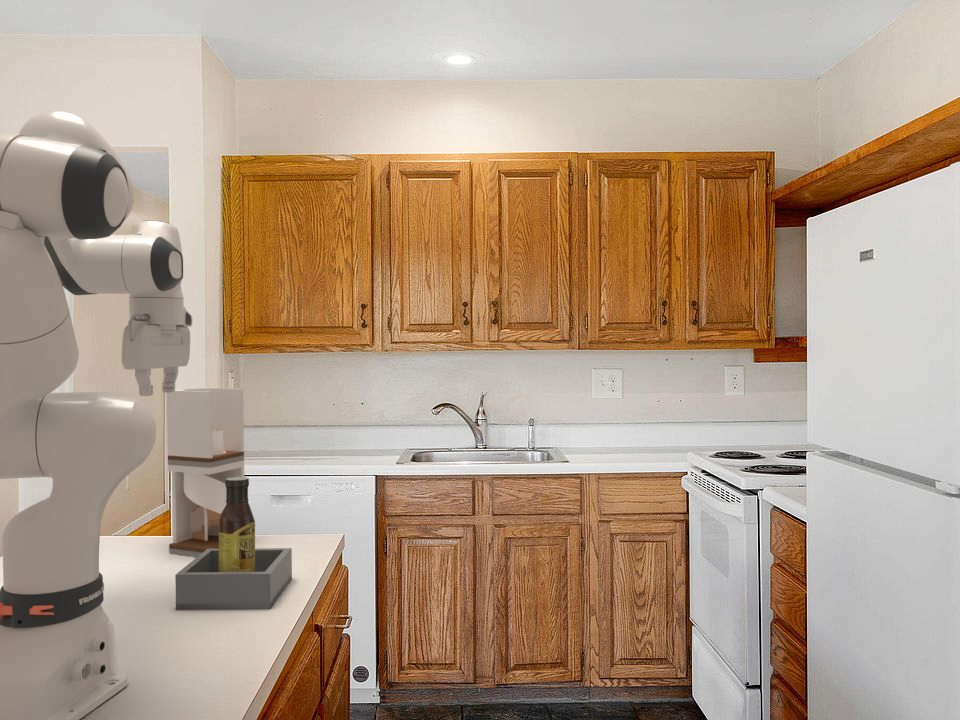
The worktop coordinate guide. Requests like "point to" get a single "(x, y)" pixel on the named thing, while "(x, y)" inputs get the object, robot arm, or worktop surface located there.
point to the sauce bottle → (237, 529)
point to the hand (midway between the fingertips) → (157, 394)
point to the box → (233, 582)
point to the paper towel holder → (202, 462)
